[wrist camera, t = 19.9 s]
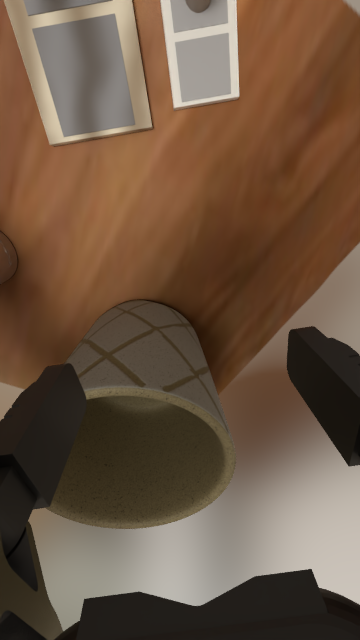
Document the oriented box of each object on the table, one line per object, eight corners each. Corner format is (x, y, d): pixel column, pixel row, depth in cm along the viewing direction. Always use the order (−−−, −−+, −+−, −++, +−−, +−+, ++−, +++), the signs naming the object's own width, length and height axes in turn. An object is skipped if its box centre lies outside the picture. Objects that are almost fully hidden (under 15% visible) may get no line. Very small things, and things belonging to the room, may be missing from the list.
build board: (53, 146, 32) (49, 144, 31) (-33, -128, 23) (-44, -146, 22) (152, 129, 32) (152, 126, 31) (107, -156, 22) (103, -176, 21)
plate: (173, 110, 31) (175, 88, 25) (155, -36, 26) (152, -111, 19) (237, 99, 31) (255, 74, 25) (232, -50, 26) (253, -131, 19)
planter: (229, 341, 47) (281, 459, 26) (153, 410, 54) (145, 547, 33) (132, 263, 39) (93, 339, 18) (58, 355, 46) (-31, 486, 25)
